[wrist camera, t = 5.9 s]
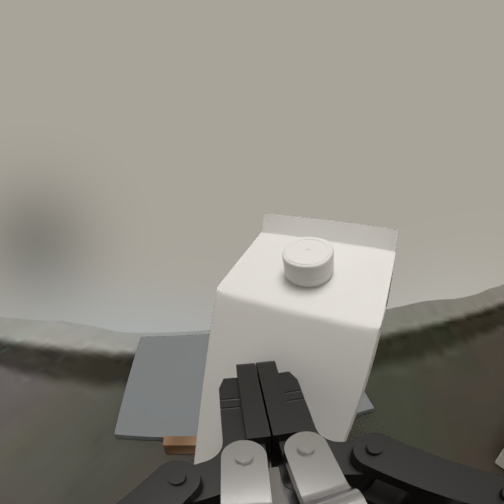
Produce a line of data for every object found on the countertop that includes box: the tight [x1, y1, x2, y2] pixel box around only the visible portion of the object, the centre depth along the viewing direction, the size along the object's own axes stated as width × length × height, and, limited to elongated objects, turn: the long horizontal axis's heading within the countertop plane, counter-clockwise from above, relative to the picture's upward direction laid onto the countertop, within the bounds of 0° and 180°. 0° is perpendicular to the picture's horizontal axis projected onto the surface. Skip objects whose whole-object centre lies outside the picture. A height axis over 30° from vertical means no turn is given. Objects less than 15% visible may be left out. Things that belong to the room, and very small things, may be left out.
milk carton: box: [194, 213, 398, 504], centre depth 14 cm, size 7×7×19 cm
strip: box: [163, 436, 197, 454], centre depth 20 cm, size 14×1×2 cm, turn 98°
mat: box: [114, 334, 374, 441], centre depth 29 cm, size 24×16×1 cm, turn 98°
